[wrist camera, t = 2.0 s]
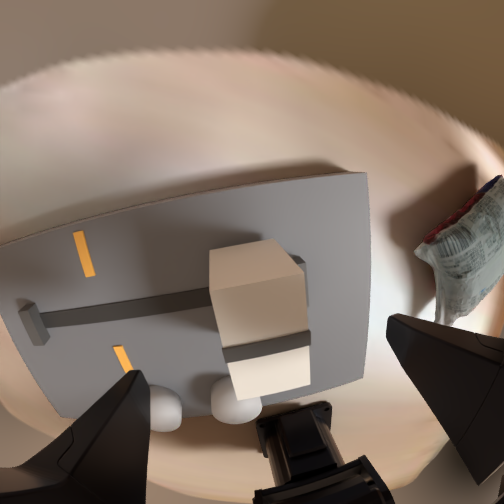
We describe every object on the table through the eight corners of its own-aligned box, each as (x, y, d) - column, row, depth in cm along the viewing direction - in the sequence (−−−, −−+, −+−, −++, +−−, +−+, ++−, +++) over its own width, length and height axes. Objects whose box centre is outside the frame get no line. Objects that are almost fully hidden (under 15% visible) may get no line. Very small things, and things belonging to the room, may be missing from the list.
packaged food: (495, 251, 19) (530, 265, 15) (419, 323, 20) (455, 353, 15) (482, 169, 17) (524, 174, 12) (396, 236, 17) (444, 256, 12)
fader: (274, 238, 13) (307, 273, 9) (285, 328, 14) (312, 386, 10) (208, 250, 13) (208, 293, 8) (228, 340, 14) (236, 403, 10)
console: (349, 171, 15) (383, 173, 12) (351, 362, 19) (372, 391, 16) (-4, 246, 13) (-35, 263, 9) (67, 401, 17) (55, 430, 14)
